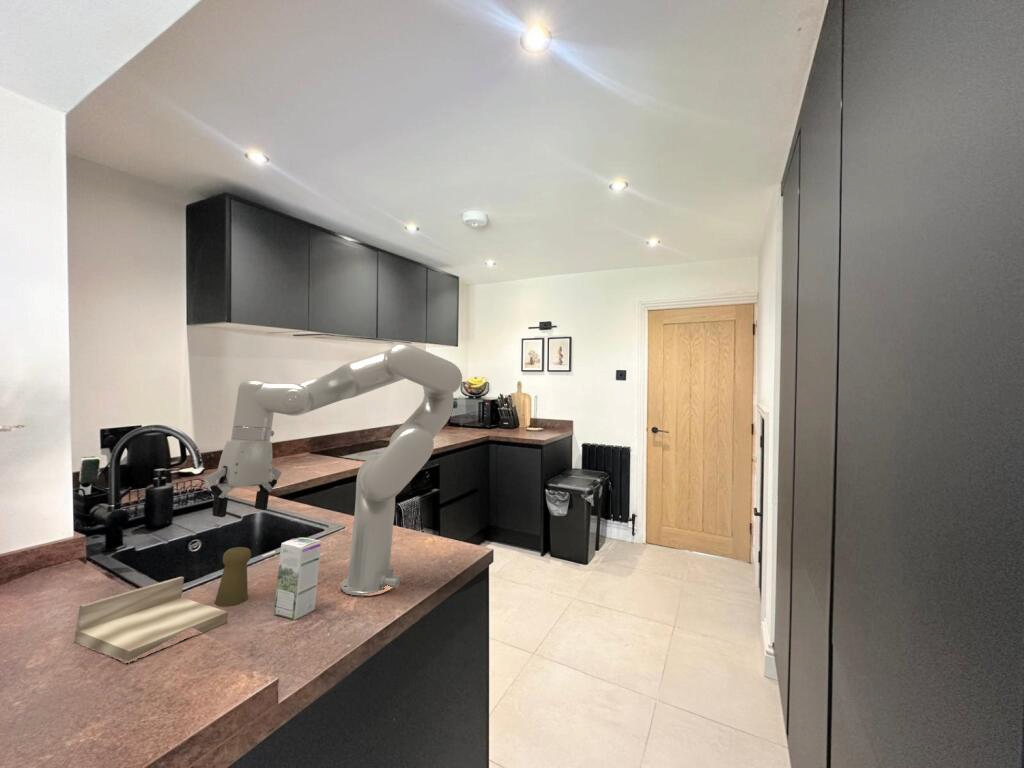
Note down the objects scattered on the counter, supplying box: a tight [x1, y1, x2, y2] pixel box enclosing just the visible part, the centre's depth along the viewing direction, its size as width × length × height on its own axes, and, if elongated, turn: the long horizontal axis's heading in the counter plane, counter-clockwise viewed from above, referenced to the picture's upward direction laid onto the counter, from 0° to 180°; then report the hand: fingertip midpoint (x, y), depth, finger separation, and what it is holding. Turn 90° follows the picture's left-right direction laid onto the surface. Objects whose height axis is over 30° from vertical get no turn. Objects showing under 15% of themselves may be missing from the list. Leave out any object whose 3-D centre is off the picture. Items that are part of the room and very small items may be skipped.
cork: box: [214, 546, 252, 607], centre depth 91 cm, size 6×6×11 cm
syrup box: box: [273, 536, 322, 621], centre depth 87 cm, size 6×6×14 cm
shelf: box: [73, 576, 229, 661], centre depth 76 cm, size 15×16×6 cm
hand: (240, 512), depth 92 cm, fingers open, 9 cm apart
